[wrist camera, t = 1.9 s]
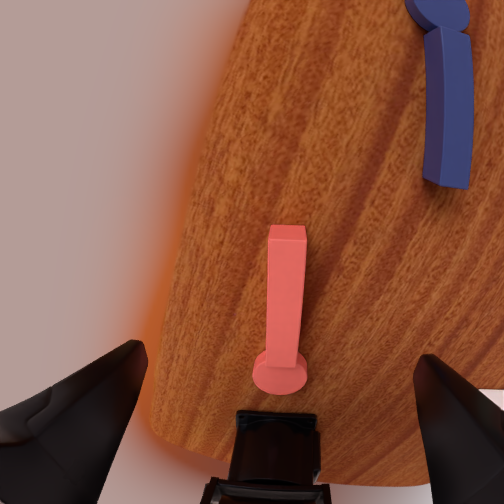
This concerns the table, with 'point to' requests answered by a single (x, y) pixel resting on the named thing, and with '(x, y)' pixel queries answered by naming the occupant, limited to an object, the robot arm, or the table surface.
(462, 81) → the spoon navy
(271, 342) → the spoon coral
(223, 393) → the table surface
